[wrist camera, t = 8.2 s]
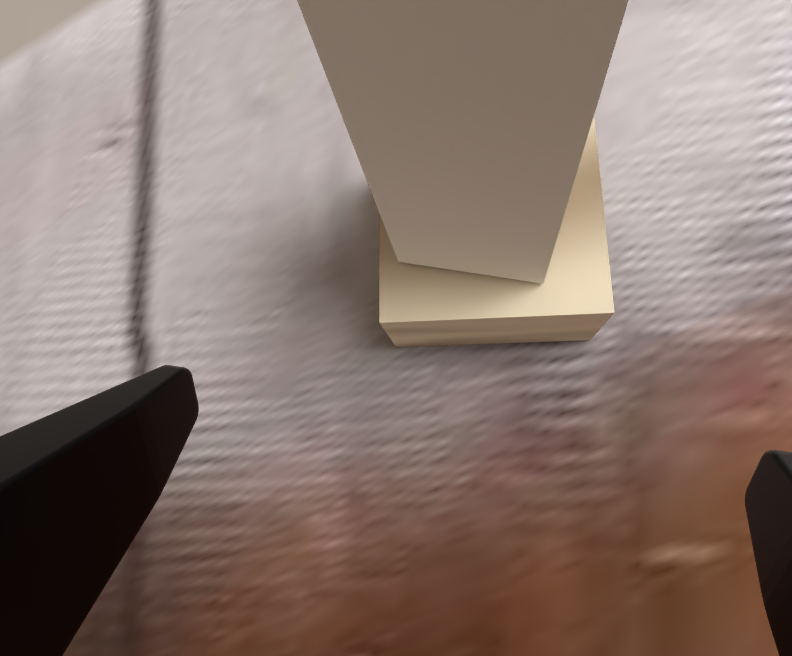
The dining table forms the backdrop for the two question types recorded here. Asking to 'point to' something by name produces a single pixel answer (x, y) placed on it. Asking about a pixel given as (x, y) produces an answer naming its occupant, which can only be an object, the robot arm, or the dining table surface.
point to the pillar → (468, 118)
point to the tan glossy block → (508, 285)
